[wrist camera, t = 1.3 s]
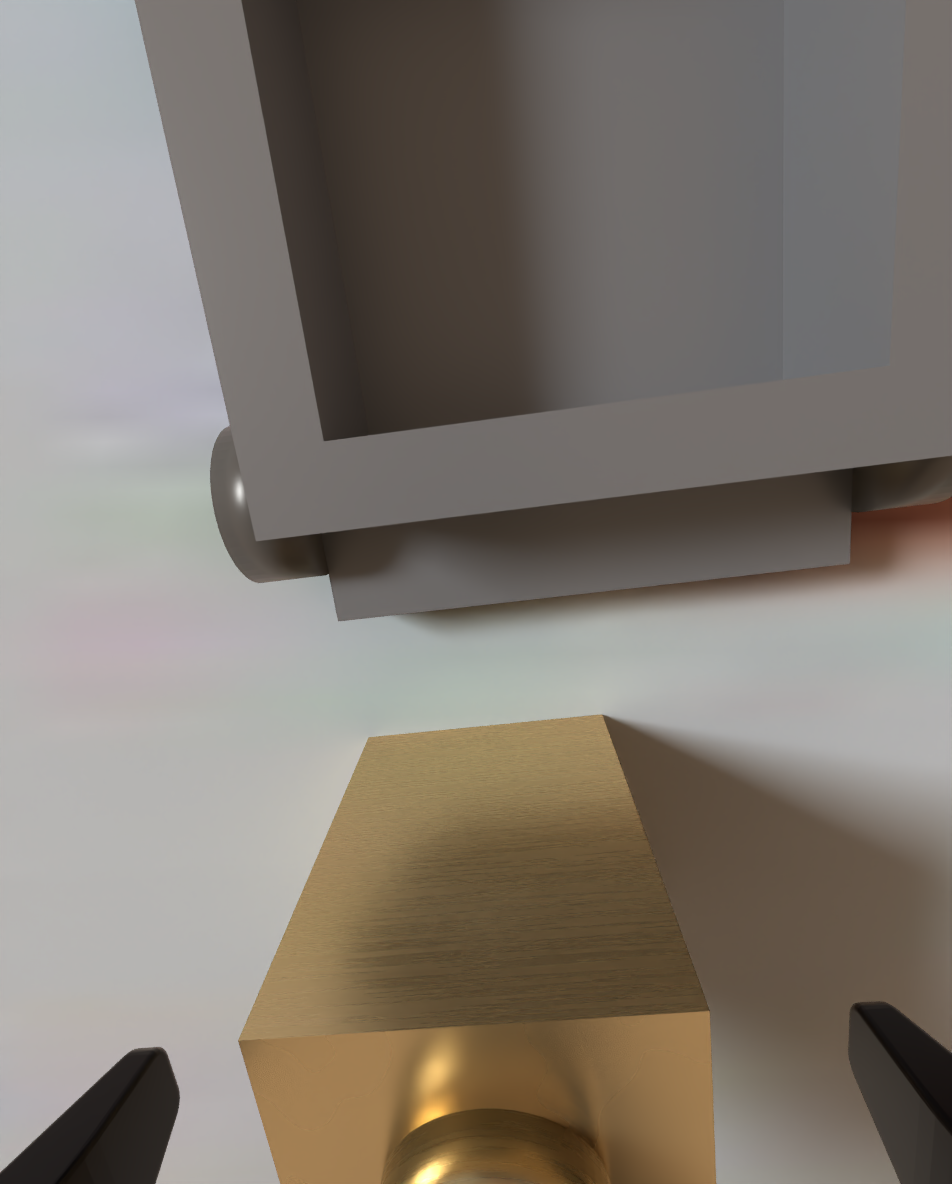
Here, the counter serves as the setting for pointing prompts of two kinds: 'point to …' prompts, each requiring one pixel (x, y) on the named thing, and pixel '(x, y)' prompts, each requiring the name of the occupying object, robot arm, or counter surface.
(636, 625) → the counter surface
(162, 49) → the chassis
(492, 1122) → the brass knobbed block
